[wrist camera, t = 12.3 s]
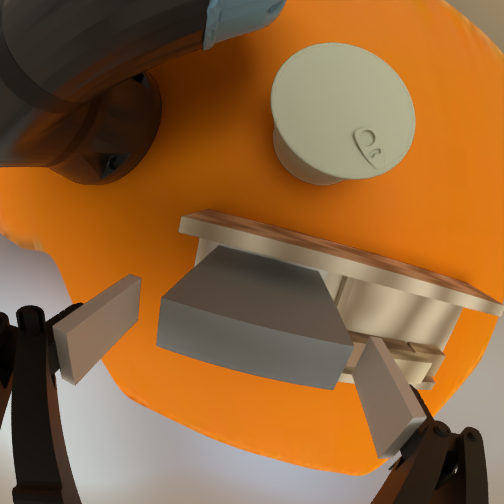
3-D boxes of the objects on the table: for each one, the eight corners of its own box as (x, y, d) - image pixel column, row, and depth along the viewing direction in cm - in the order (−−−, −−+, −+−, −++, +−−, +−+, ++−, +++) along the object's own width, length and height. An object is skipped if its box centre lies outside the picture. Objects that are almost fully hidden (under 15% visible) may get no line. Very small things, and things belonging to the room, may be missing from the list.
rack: (185, 330, 30) (159, 368, 23) (208, 209, 27) (181, 216, 19) (422, 377, 29) (445, 413, 21) (467, 283, 26) (505, 306, 18)
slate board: (212, 273, 27) (156, 345, 14) (218, 245, 27) (161, 297, 13) (309, 299, 27) (332, 390, 13) (318, 271, 26) (354, 346, 13)
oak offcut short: (397, 362, 28) (404, 373, 25) (407, 341, 27) (416, 352, 25) (426, 365, 28) (434, 376, 25) (436, 345, 27) (445, 355, 25)
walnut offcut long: (335, 352, 28) (339, 365, 26) (345, 329, 28) (350, 341, 25) (394, 361, 28) (400, 373, 25) (404, 340, 27) (412, 351, 25)
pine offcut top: (364, 368, 26) (369, 379, 24) (375, 346, 25) (381, 356, 23) (414, 373, 25) (420, 383, 23) (425, 354, 25) (432, 363, 23)
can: (300, 201, 26) (317, 207, 15) (256, 119, 25) (240, 68, 13) (379, 163, 25) (442, 148, 13) (336, 84, 23) (369, 25, 12)
